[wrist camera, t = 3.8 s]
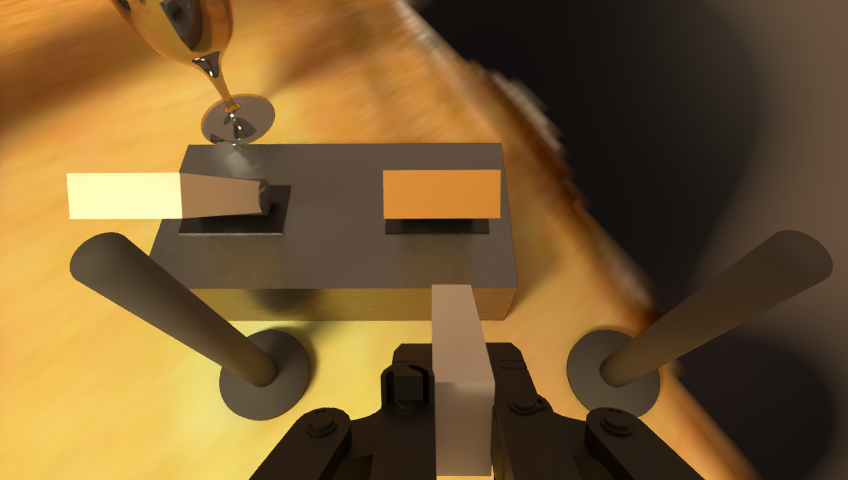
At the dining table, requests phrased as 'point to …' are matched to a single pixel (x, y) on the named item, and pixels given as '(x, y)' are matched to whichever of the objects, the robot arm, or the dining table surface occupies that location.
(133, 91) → the dining table surface
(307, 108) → the dining table surface
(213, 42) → the wine glass
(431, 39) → the dining table surface
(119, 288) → the post
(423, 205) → the panel
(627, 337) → the post
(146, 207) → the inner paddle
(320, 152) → the panel
